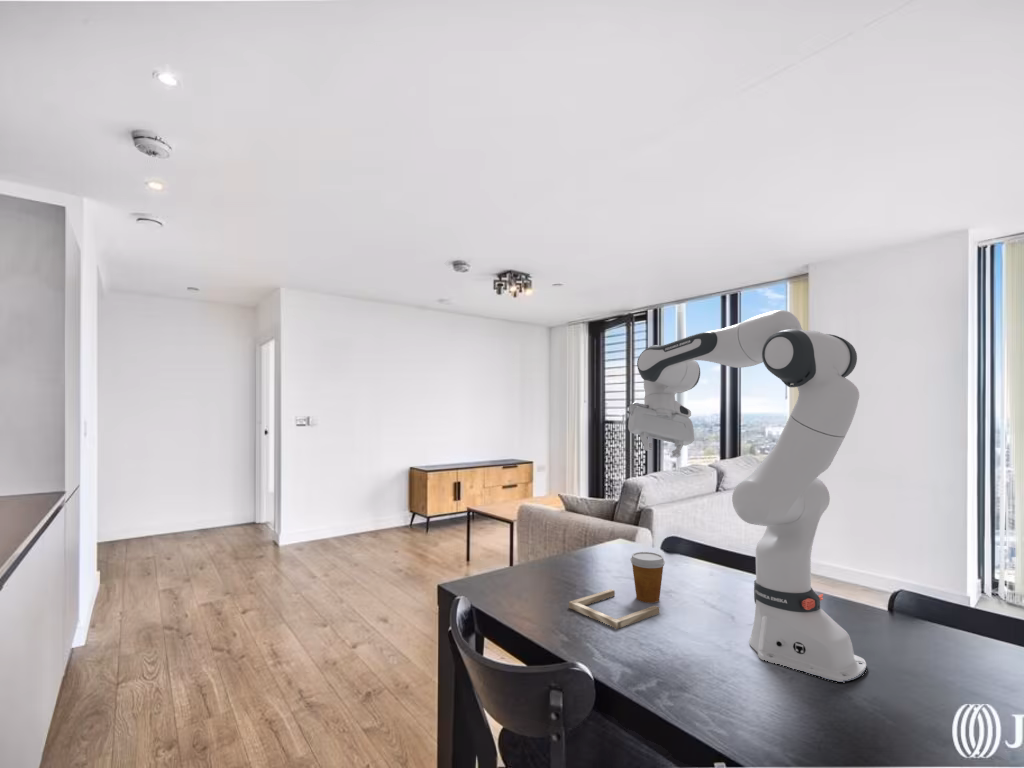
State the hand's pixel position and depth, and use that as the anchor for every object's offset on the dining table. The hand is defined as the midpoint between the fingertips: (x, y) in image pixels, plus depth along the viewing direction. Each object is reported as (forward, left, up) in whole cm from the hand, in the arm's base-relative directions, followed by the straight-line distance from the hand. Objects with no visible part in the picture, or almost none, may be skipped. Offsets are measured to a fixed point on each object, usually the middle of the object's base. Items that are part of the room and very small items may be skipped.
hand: (662, 453), depth 147 cm
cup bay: (+5, +15, -41) cm, 44 cm away
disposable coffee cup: (+5, +1, -41) cm, 42 cm away
